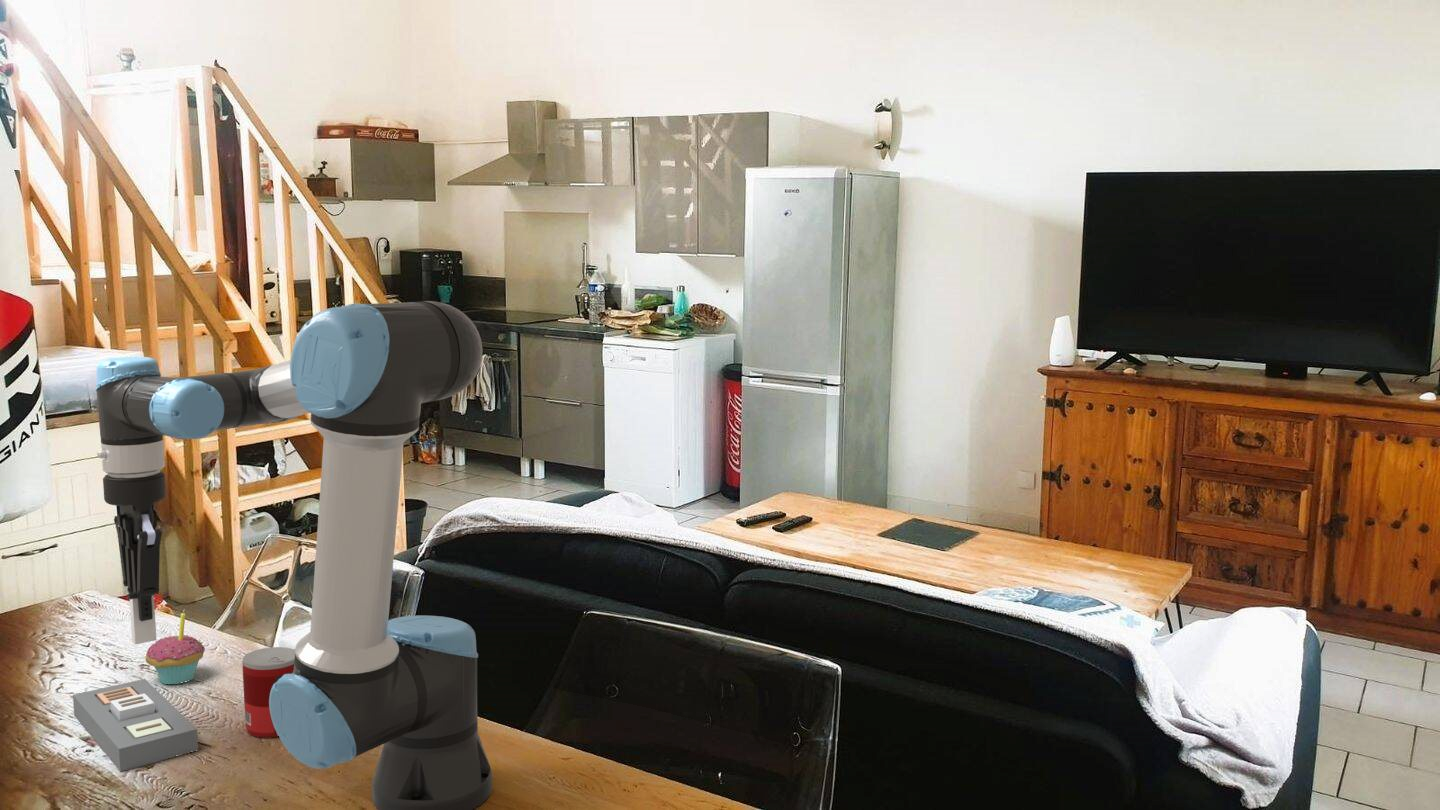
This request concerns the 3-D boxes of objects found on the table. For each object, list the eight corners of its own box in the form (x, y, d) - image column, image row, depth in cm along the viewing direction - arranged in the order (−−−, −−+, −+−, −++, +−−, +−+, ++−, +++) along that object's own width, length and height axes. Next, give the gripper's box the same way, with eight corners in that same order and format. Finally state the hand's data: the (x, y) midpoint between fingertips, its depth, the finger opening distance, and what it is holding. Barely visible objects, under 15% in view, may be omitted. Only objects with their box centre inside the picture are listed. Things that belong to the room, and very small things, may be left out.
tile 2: (155, 717, 169) (154, 701, 168) (120, 726, 166) (119, 710, 165) (145, 707, 172) (144, 692, 172) (111, 715, 169) (110, 700, 169)
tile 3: (140, 709, 174) (139, 694, 174) (106, 718, 171) (105, 702, 171) (130, 700, 178) (130, 685, 177) (97, 708, 175) (96, 693, 174)
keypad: (198, 750, 164) (197, 729, 163) (120, 771, 157) (118, 749, 156) (146, 698, 181) (144, 678, 181) (74, 715, 175) (72, 694, 174)
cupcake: (216, 672, 192) (213, 601, 191) (184, 692, 184) (180, 618, 182) (169, 668, 194) (165, 598, 192) (135, 687, 185) (130, 614, 184)
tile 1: (172, 743, 163) (171, 727, 163) (136, 752, 160) (135, 736, 160) (161, 732, 167) (161, 717, 166) (126, 741, 164) (125, 725, 163)
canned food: (284, 741, 167) (281, 667, 165) (233, 735, 169) (230, 662, 167) (313, 720, 174) (310, 649, 173) (264, 714, 176) (261, 644, 174)
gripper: (90, 468, 160) (101, 634, 163) (117, 483, 151) (128, 660, 154) (149, 461, 165) (158, 623, 168) (178, 476, 155) (188, 647, 159)
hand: (144, 640), depth 161 cm, fingers closed
